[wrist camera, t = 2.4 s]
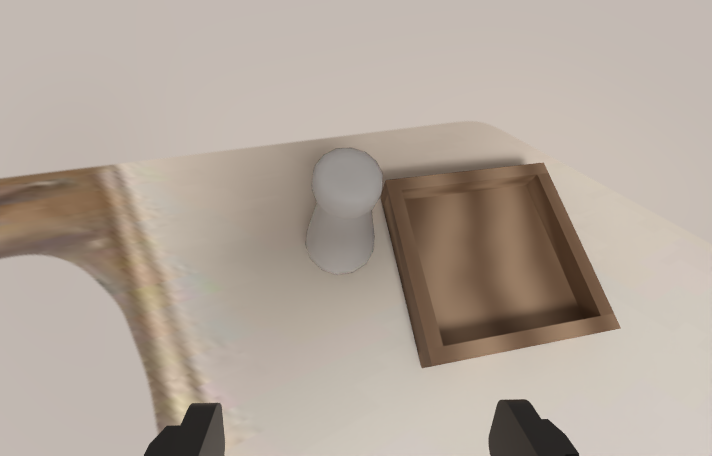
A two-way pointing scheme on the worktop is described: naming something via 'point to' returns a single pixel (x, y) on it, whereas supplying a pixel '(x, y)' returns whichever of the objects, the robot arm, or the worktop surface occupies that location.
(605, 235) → the worktop surface
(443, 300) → the walnut tray
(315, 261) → the salt shaker
